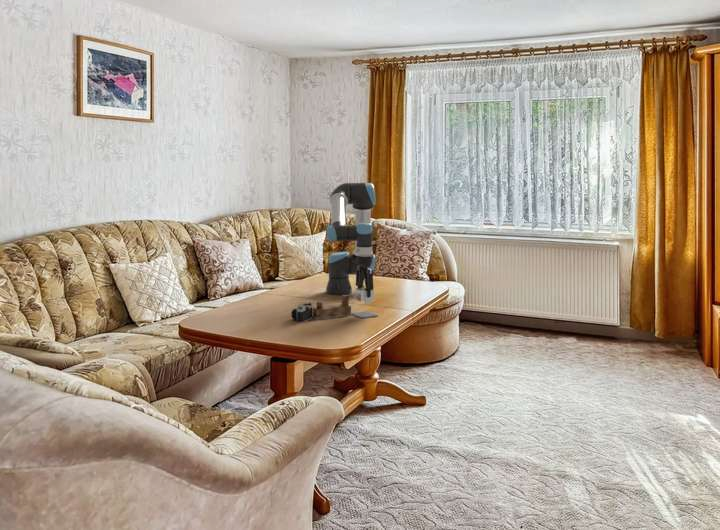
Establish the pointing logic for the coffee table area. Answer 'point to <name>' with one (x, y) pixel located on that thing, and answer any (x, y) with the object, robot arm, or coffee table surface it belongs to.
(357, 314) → the felt mat
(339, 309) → the plane body
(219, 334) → the coffee table surface
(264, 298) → the coffee table surface
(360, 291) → the grey gold knob block
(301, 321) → the camera
